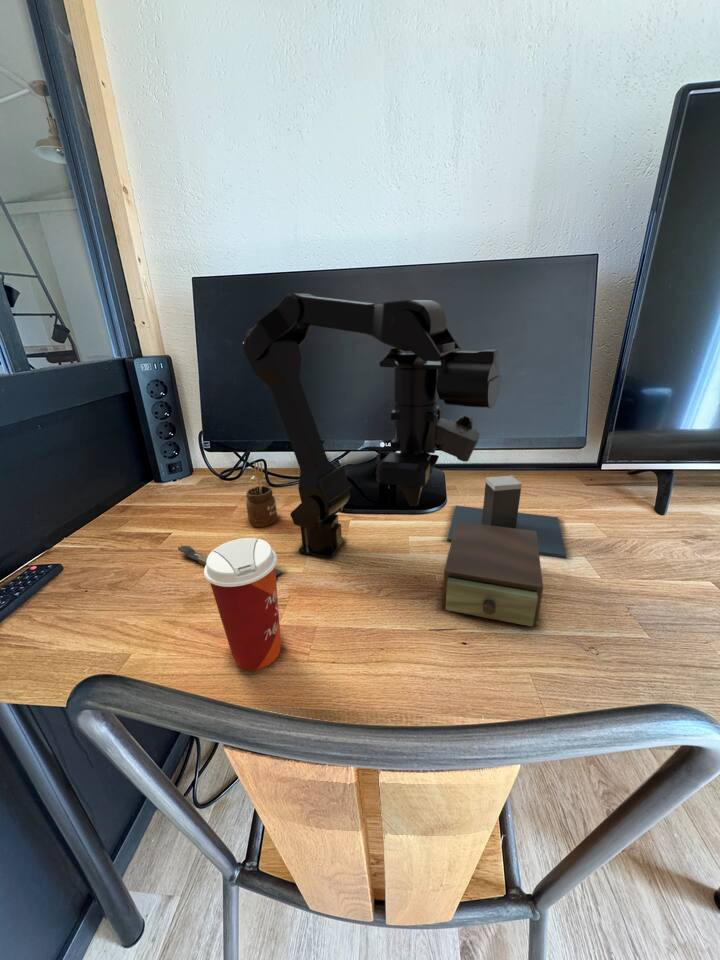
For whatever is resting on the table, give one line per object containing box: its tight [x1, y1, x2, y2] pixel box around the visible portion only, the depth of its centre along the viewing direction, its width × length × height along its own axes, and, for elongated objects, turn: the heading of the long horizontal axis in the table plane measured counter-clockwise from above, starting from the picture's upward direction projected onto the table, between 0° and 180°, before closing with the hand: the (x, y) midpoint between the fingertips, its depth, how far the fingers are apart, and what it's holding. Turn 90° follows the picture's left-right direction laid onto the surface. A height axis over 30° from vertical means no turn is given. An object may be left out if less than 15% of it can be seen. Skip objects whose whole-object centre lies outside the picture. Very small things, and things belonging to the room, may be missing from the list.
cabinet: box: [441, 521, 544, 627], centre depth 61 cm, size 15×13×7 cm
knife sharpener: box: [482, 475, 523, 529], centre depth 75 cm, size 5×4×10 cm
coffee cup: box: [203, 537, 282, 671], centre depth 49 cm, size 8×8×15 cm
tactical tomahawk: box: [177, 545, 283, 577], centre depth 70 cm, size 21×7×1 cm, turn 57°
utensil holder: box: [245, 461, 278, 528], centre depth 82 cm, size 6×6×12 cm
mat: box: [446, 505, 567, 559], centre depth 77 cm, size 20×14×1 cm
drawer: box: [445, 577, 538, 627], centre depth 59 cm, size 15×11×5 cm
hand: (413, 505), depth 60 cm, fingers closed
